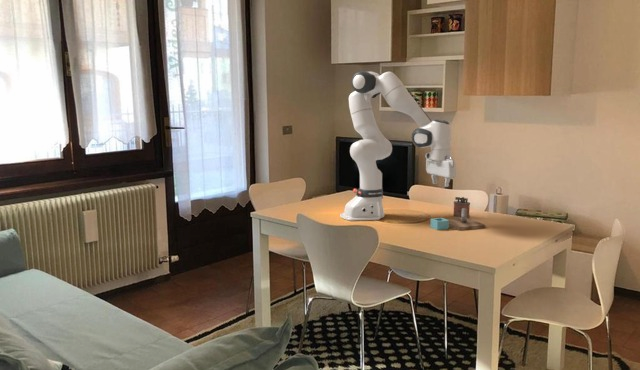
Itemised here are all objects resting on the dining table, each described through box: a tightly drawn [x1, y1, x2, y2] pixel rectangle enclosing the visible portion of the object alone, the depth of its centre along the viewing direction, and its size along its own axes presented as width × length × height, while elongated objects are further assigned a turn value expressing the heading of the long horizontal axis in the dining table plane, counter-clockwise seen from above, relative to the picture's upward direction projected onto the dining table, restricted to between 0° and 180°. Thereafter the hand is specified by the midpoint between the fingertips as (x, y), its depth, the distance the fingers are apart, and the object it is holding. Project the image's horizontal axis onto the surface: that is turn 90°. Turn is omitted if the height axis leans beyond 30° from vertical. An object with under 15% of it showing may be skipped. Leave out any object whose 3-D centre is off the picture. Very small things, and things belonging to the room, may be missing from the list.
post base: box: [448, 208, 486, 231], centre depth 263 cm, size 14×14×8 cm
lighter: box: [452, 196, 471, 219], centre depth 281 cm, size 8×3×10 cm, turn 65°
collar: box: [429, 217, 450, 231], centre depth 259 cm, size 6×6×4 cm
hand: (440, 185), depth 260 cm, fingers open, 8 cm apart
